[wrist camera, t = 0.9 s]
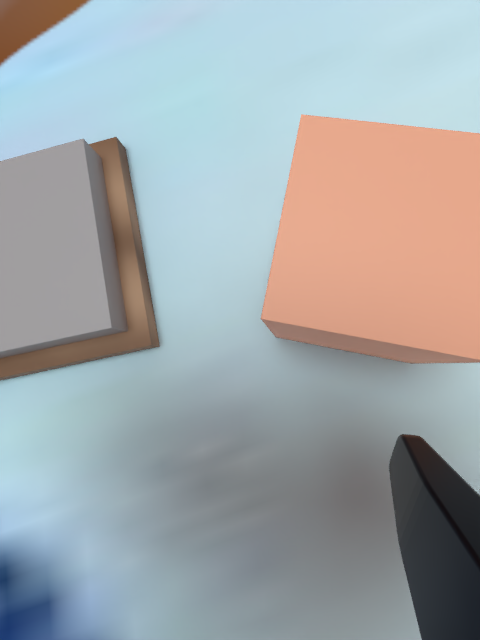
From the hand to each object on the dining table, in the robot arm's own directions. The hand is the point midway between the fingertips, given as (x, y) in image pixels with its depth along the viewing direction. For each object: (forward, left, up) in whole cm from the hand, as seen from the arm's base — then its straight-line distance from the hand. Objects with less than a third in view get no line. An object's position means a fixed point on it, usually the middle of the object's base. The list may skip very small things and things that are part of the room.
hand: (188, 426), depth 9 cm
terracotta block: (+4, -6, -13) cm, 15 cm away
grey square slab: (+9, +11, -12) cm, 19 cm away
